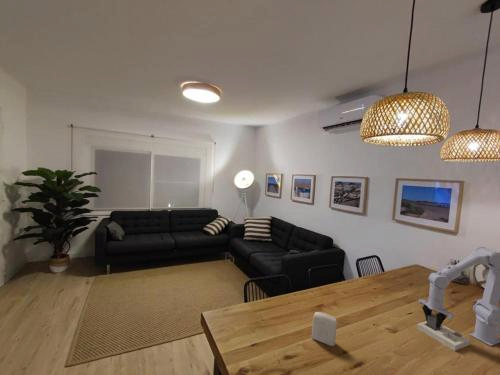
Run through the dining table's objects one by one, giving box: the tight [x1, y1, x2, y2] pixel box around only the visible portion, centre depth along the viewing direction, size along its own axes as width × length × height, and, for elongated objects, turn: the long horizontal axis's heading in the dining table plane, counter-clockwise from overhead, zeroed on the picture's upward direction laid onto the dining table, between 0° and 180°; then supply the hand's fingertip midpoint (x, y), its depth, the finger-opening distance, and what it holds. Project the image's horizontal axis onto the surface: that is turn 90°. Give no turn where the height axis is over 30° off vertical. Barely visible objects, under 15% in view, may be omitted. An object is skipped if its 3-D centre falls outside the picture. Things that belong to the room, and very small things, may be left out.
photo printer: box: [311, 311, 338, 347], centre depth 105 cm, size 10×4×12 cm, turn 61°
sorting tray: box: [416, 320, 471, 352], centre depth 114 cm, size 12×16×3 cm
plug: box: [427, 313, 440, 331], centre depth 117 cm, size 4×4×7 cm
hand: (433, 324), depth 117 cm, fingers closed on plug, 4 cm apart
